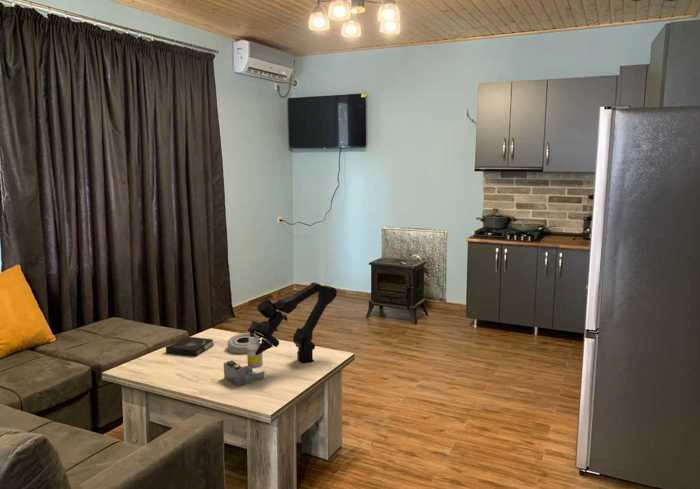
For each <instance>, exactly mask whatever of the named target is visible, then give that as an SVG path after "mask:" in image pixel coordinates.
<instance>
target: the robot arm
mask: <svg viewBox="0 0 700 489" xmlns="http://www.w3.org/2000/svg"><path fill="white" fill-rule="evenodd" d="M316 293H318V294H317V301H316V304H315V305H314V307H313V309H312V310H311V312H310V314H309V316H308V318H307V320H306V321H305V324H304V325H303V326H302V327H300V328H299V327H298V328H296V330H295V332H294V334H293V337H292V341H293V343H294V345H295V346H296V347H297V349H298V350H297V351H296V354H297V355H296V357H297V361H298V362H299V363H300V364H306V363H307V364H308V363H313V362H315V360H314V358H313V356H314V355H313V354H314V353H313V350H315V348H316V344H314V343H313V342H312V340H313V331H314V329H315V328H316V326H317V324H318V322H319V320H320V319H321V317H322V315H323V314H324V311H325V309H326V308H327V306H328V305H330V304H331V303H332V302H333V301H334V300H335V299H336V297H337V295H338V292H337V289H336V288H335V287H333V286H330V285H326V284H325V285H321V284H320V283H317V282H311V283H310V284H308V286H306V287H303V289H301V290H298V291H297V292H296V293H294V294H292V295H290V296H285V297H282V298H280V299H279V300H277V301H276V302H272V301H271V300H270V299H268V298H266V299H265V300H263V301H262V302H260V303H258V305H257V307H256V310H257V312H259V313H260V314H261V315H262V316H263V317H264V318H266V319H267V320H263V321H260V322H259V321H256V320H252V321H251V325H250V327H249V328H248V329H247V331H248V333H250V336H251V337H258V338H259V340H260V341H259V343H261V345H260V346H259V348H258V350H257V351H256V353H255V354H256V355H259V354H260V353H262V354H263V352H265V351H267V350H269V349H271V348H274V347H275V348H278V346H279V345H280V341H279V339H278V338H276V337H274V336H273V334H274V333H276V332H278V331H279V329H278V327H279V326H281V323H282V322H283V321H284V322H285V321H286V322H288V316H287V315H288V314H291V313H292V312H294V311H295V309H297V306H298V305H300V304H301V303H302V302H304V301H305V300H307V299H309V298H310V297H312V296H313V295H315V294H316Z"/></svg>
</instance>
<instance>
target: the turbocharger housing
mask: <svg viewBox="0 0 700 489" xmlns="http://www.w3.org/2000/svg"><path fill="white" fill-rule="evenodd" d="M249 338H251V336H250V332H242V333H238V334H237V333H236V334H235V335H232V336H231V337H230V338H229V339H228V341H227V350H228V351H229V352H230V353H232V354H235V355H245V354H247V345H248V344H249Z"/></svg>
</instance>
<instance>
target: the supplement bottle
mask: <svg viewBox="0 0 700 489" xmlns="http://www.w3.org/2000/svg"><path fill="white" fill-rule="evenodd" d="M260 340H261V339H260ZM260 340H259V338H258V337H251V338H249V344H248V345H247V353H246V356H247V358H246V359H247V366H248V367H249V368H253V369H259V368H261V367H263V365H264V363H263V362H264V360H263V352H262V353H260V354H259V355H256V354H255V353H256V351H257V350H258V348H259V346H260V345H261V343H262V342H261V341H260ZM259 341H260V342H259Z"/></svg>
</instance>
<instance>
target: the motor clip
mask: <svg viewBox="0 0 700 489" xmlns="http://www.w3.org/2000/svg"><path fill="white" fill-rule="evenodd" d="M253 369H254V368H249V367H248V365H246V366H244V365H243V366H241V364H239V363H237V362H236V361H234V360H228V361H226V362H223V377H224V379H225V380H226V381H228V382H230V383H231V384H232V385H234V386H235V387H241V386H245V385H246V384H251V383H253V382H257V381H260V380H263V379H265V371H260V372H255V371H254V370H253Z"/></svg>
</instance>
